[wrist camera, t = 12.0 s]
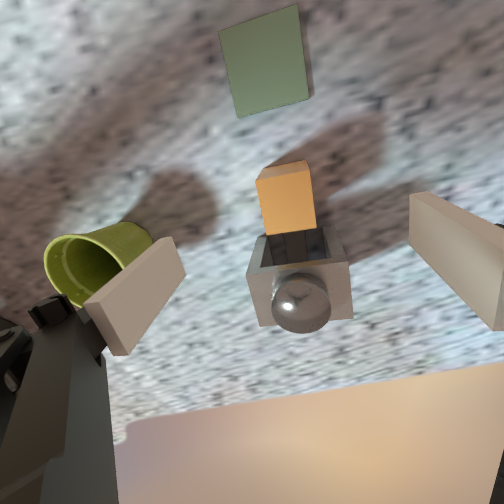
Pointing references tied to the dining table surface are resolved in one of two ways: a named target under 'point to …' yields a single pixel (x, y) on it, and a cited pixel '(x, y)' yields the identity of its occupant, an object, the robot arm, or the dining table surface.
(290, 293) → the housing
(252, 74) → the mat
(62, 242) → the plant pot
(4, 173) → the dining table surface
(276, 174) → the plug
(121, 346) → the robot arm
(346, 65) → the dining table surface
